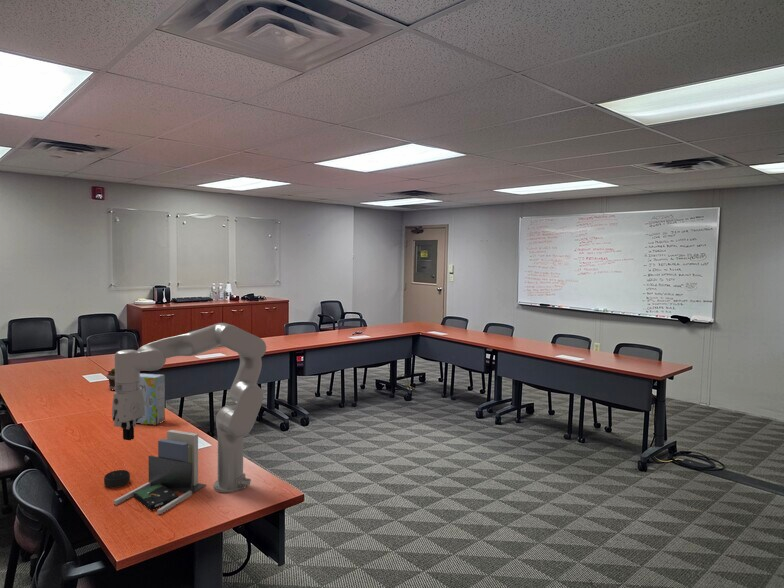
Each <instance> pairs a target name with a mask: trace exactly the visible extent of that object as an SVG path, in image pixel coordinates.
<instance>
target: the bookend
mask: <svg viewBox="0 0 784 588" xmlns="http://www.w3.org/2000/svg"><path fill="white" fill-rule="evenodd" d="M148 482H149V483H151V486H153V485H157V484H160V483H161V484H162V485H164V486H165V487H167V488H168V489H170V490H171V491H173V492H174V493H180V494H184V493H186V492H188V491H192V495H193V494H195V493H197V492H198V491H200V490H201V489H203V488H205V487H206V486H207V484H205V483H199V482H198V484H197V485H195V486H192V463H189V462H184V461H178V460H173V459H167V458H161V457H158V456H155V455H148Z"/></svg>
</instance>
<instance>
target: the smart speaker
mask: <svg viewBox="0 0 784 588" xmlns="http://www.w3.org/2000/svg"><path fill="white" fill-rule="evenodd" d="M130 473H131V472H130V471H129V470H126V469H118V470H117V469H116V470H113V471H110V472H108V473H107V474H105V475H104V477H103V482H104V483H103V484H104V486H105V487H106V488H111V489H112V488H121V487H123V486H126V485H127V484H129V482H130V481H131V478H130V477H131V474H130Z"/></svg>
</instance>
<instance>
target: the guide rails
mask: <svg viewBox="0 0 784 588" xmlns="http://www.w3.org/2000/svg"><path fill="white" fill-rule="evenodd" d="M150 486H151V483H149V481H148V482H146V483H144V484H142V485H140V486H138V487H136V488H134V489H133V490H131V491H128V492H127V493H124V494H123V495H122V496H119V497H118V498H116V499H113V505H114V504H115V505H114V506H118V505H119V504H121V503H123V502H125V501H126V499H127V500H128V499H130V498H132V497H134V493H135V491H139V490H142V489H145V488H147V487H150ZM192 495H193V494H192V491H188V492H186V493H182V494H181V495H180V496H179V495H178V496H179V497H178V498H176V499H175V500H173V501H171V502H170V503H168V504H166V505H165V506H163V507H161V508H158V509H157V515H159V514H161V513H162V514H164V513H166V512H167V511H169V510H170V509H172V508H173V507H175V506H176V504H177V505H178V504H180V503H182V502H183V501H184V499H185V500H187V499H188V498H189V497H191V496H192ZM179 502H180V503H179ZM171 507H172V508H171ZM168 509H169V510H168ZM166 510H167V511H166ZM163 512H164V513H163ZM162 514H161V515H162Z"/></svg>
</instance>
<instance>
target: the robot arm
mask: <svg viewBox="0 0 784 588" xmlns="http://www.w3.org/2000/svg"><path fill="white" fill-rule="evenodd" d="M220 347H224V348H226V349H228V350H231V351H233V352H235V353H237V354H238V357H239V367H238V369H237V372H236V374H235V377H234V380H233V382H232V384H231V387H230V389H229V393H228V394H229V398H230V399H231V401H232V402H233V403H235V404H236V405H231V404H230V405H229V404H228V405H224V406H223V407H221V408H220V409H219V410H218V412H217V414H216V415H215V427H216V435H217V480H215V481H214V483H213V485H212V486H213V487H212V488H213V490H214V491H216V492H218V493H225V494H227V493H228V494H229V493H230V494H231V493H235V492H240V491H241V490H244V488H246V487H250V485H251V481H252V479H251V478H247V477H246V473H244V437H246V436H247V435H248V434H250V432H251V430H252V429H253V428H254V425H255V422H256V421H257V417H258V415H259V412H260V409H261V407H262V404H263V400H264V392H263V390H262V388H261V387H260V386H259V385H258V381H259V378H260V375H261V371H262V366H263V363H262V357H264V355H265V353H266V352H267V345H266V342H265V341H264V339H263V338H261V337H259V336H257V335H255V334H252V333H251V332H248V331H245V330H244V329H242V328H240V327H237V325H233V324H229V323H226V322H218V323H214V324H212V325H208V326H206V327H203V328H200V329H197V330H193V331H191V332H187V333H183V334H178V335H175V336H170V337H166V338H165V337H164V338H162V339H158V340H156V341H152V342H149V343H147V344H144V345H142V346H140V347H139V348H138V349H137V350H136V349H121V350H118V351H116V352H115V354H114V368H115V387H114V390H115V391H114V392H113V397H112V404H111V405H112V408H111V416H112V417H111V418H112V421H113V422H114V423H113V426H114V427H116V428H117V427H120V428H121V430H122V440H125V441H132V440H134V439H135V427H136V425H137V424H136V422H137V420H139V419H140V418H141V417H142V416H143V415H144V414H145V404H144V396H143V391H142V388H140V373H141V372H142V371H145V372H146V371H149V372H151V371H158V370H160V369H162V368H163V367H164V366H165V365H166V362H167V359H169V358H173V357H182V356H183V357H191V356H198V355H199V354H202V353H205V352H208V351H211V350H214V349H216V348H220Z"/></svg>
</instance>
